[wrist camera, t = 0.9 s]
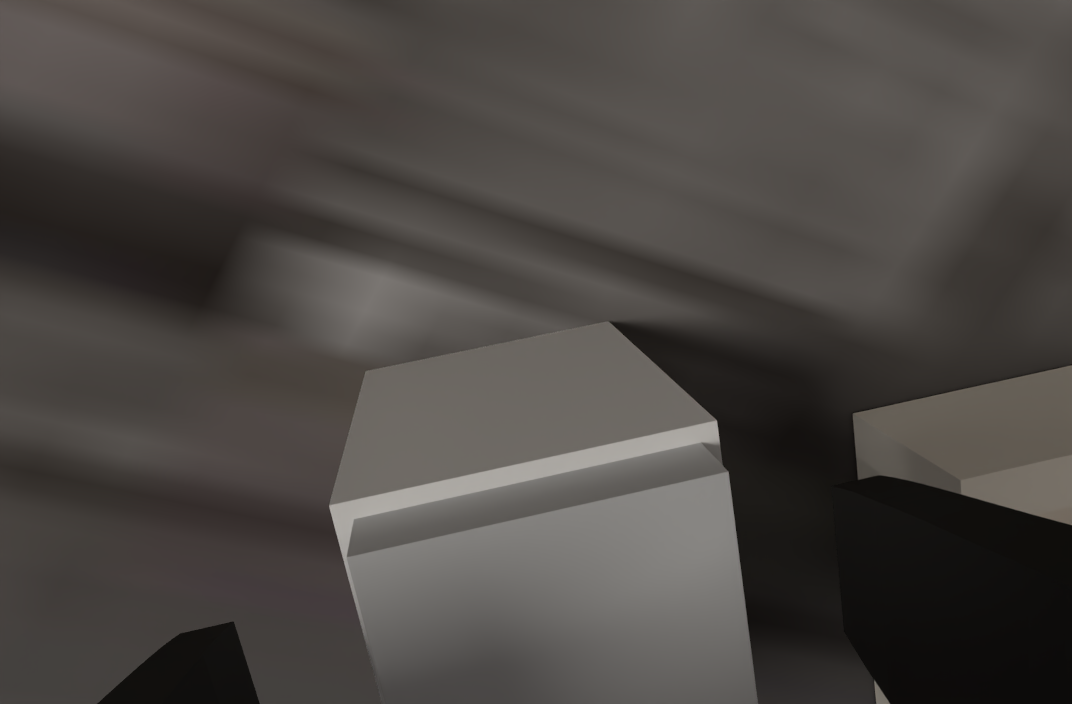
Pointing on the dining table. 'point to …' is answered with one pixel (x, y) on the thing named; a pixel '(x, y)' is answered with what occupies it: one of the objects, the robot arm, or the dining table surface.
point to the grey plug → (542, 530)
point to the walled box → (979, 444)
